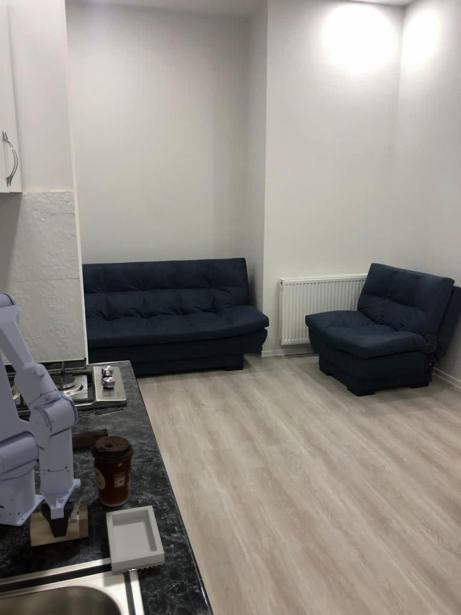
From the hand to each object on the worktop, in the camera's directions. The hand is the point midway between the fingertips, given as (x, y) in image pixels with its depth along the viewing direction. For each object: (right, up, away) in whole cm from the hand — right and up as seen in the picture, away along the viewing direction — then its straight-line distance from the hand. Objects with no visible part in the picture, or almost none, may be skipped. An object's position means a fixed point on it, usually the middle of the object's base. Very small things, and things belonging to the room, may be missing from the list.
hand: (60, 527), depth 95 cm
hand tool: (-8, +5, +32) cm, 33 cm away
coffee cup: (+7, 0, +13) cm, 15 cm away
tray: (+14, -3, 0) cm, 14 cm away
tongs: (0, -1, 0) cm, 2 cm away
